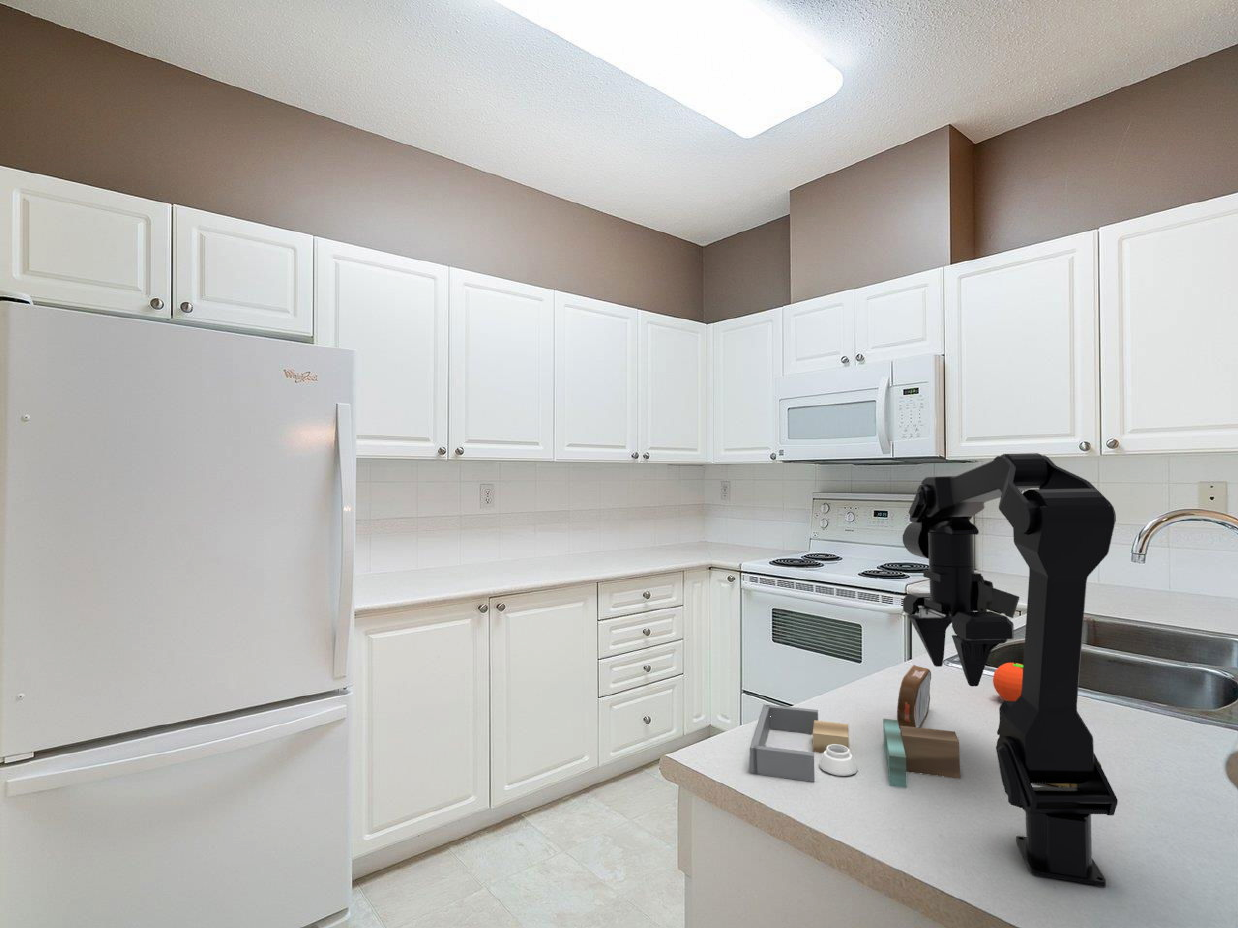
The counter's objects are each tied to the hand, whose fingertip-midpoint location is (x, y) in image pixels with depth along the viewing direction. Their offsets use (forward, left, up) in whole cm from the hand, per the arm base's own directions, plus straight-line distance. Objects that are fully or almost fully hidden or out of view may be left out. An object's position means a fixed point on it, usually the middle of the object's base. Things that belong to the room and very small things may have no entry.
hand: (955, 675), depth 90 cm
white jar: (-6, +16, -13) cm, 21 cm away
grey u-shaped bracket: (-3, +23, -12) cm, 26 cm away
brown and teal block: (-3, +4, -12) cm, 14 cm away
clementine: (+28, -14, -13) cm, 34 cm away
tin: (+14, +4, -13) cm, 19 cm away
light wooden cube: (+1, +17, -13) cm, 21 cm away
